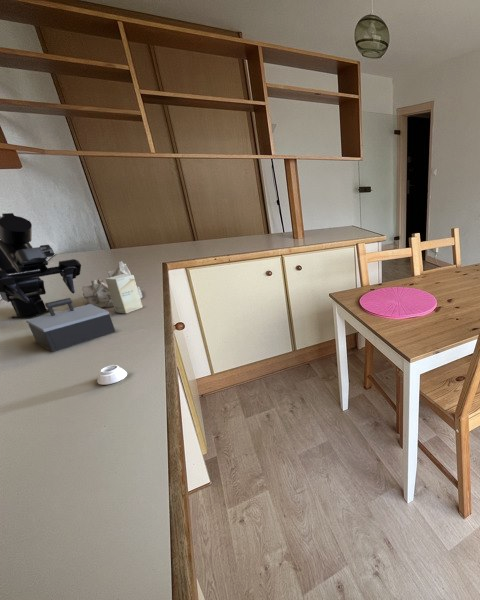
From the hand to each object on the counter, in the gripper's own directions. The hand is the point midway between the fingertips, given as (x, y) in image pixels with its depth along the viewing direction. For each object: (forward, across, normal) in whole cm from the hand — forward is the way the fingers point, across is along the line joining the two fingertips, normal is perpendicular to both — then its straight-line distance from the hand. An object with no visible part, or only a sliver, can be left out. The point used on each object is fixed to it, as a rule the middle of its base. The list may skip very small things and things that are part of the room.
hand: (52, 297), depth 89 cm
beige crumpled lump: (-5, +20, +20) cm, 29 cm away
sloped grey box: (+13, 0, +2) cm, 13 cm away
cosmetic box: (+6, +17, +10) cm, 21 cm away
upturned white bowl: (+36, -5, -21) cm, 42 cm away
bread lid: (+9, 0, -1) cm, 9 cm away
